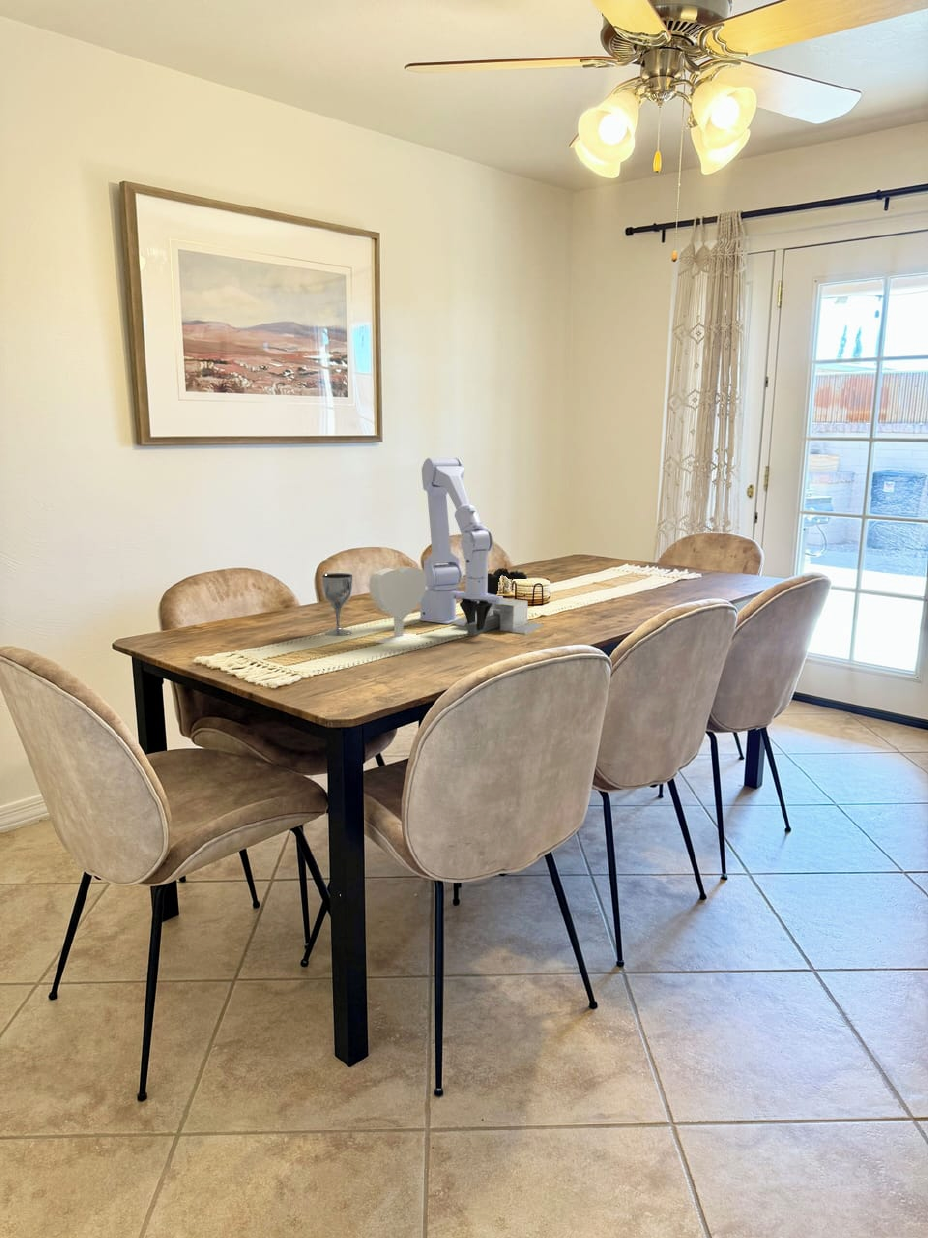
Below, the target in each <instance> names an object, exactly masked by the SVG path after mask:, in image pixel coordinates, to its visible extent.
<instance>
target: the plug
mask: <svg viewBox="0 0 928 1238" xmlns="http://www.w3.org/2000/svg"><path fill="white" fill-rule="evenodd" d="M499 626H500V610H498V609H494V610H493V615H492V616H489V617H486V620H485V624H484V628H483V629H482V630H477V621H475V622H472V623H469V624H468V626H467V636H470V637H476V636H479V635H481V634H484V633H487V632H489V631H492V630H495V629H497V628H500V627H499Z"/></svg>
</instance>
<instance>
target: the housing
mask: <svg viewBox="0 0 928 1238" xmlns="http://www.w3.org/2000/svg"><path fill="white" fill-rule="evenodd" d="M477 603H479V602H477ZM494 609H498V610H500V627H499V631H505V632H511V633H512V634H521V635H527V634H530V633H532V632H534V631H536V630H539V629H542V628H543V623H537V622H531V621H529V622H528V600H526V599H525V600H524V599H523V600H522V599H515V598H514V599H513V598H508V597H503V604H500V605H497V604H494V603H493V604H492V607H491V608H490V610H489V612H488V614H487V617H489V616H492V615H493V610H494ZM475 621H477V614H476V613H475ZM453 624H456V625H455V626H458V625H463V626H462V627H467V626H466V625H468V623H467V620H466V616H463V617H462V618H460V619H457V620H454V621H453V622H452V625H453Z"/></svg>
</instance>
